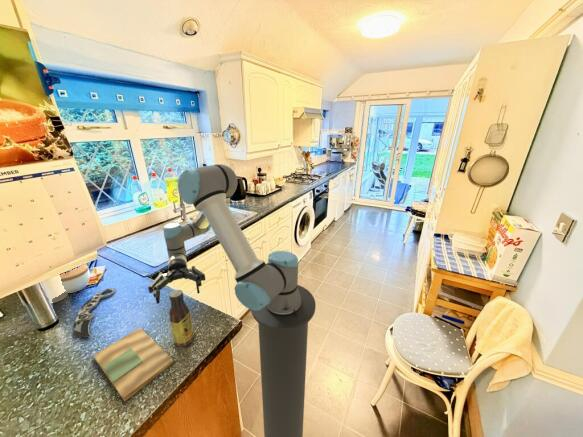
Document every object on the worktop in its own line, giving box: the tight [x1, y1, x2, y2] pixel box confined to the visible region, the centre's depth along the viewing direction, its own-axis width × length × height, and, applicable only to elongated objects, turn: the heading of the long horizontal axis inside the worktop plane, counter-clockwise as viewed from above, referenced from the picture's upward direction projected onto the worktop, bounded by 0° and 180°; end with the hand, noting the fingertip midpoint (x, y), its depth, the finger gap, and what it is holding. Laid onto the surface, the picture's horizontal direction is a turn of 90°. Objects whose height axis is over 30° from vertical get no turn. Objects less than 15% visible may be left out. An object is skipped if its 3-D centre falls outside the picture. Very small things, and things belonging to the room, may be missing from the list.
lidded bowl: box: [60, 263, 91, 294], centre depth 106 cm, size 13×13×11 cm
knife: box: [72, 287, 115, 338], centre depth 94 cm, size 28×2×10 cm
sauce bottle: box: [168, 289, 194, 348], centre depth 79 cm, size 6×6×20 cm
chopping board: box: [93, 327, 174, 402], centre depth 75 cm, size 22×14×2 cm, turn 55°
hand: (178, 295), depth 86 cm, fingers open, 13 cm apart
